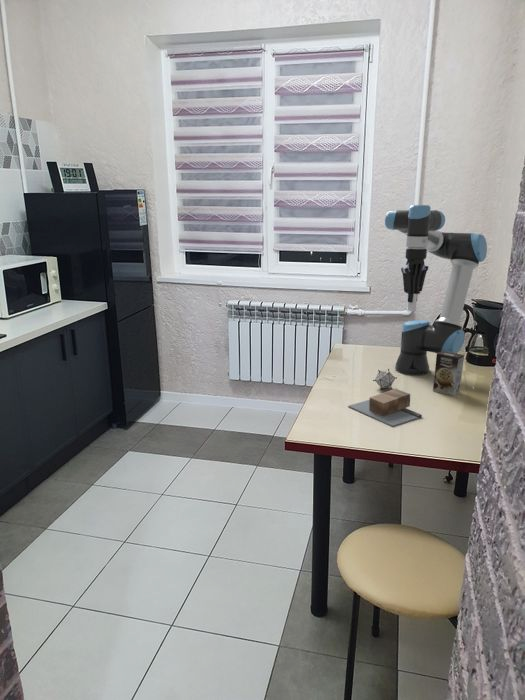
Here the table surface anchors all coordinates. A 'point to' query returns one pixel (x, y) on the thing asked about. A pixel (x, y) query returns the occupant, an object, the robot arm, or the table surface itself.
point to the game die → (385, 379)
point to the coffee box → (448, 373)
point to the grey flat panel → (389, 419)
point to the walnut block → (389, 402)
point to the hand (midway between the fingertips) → (411, 310)
